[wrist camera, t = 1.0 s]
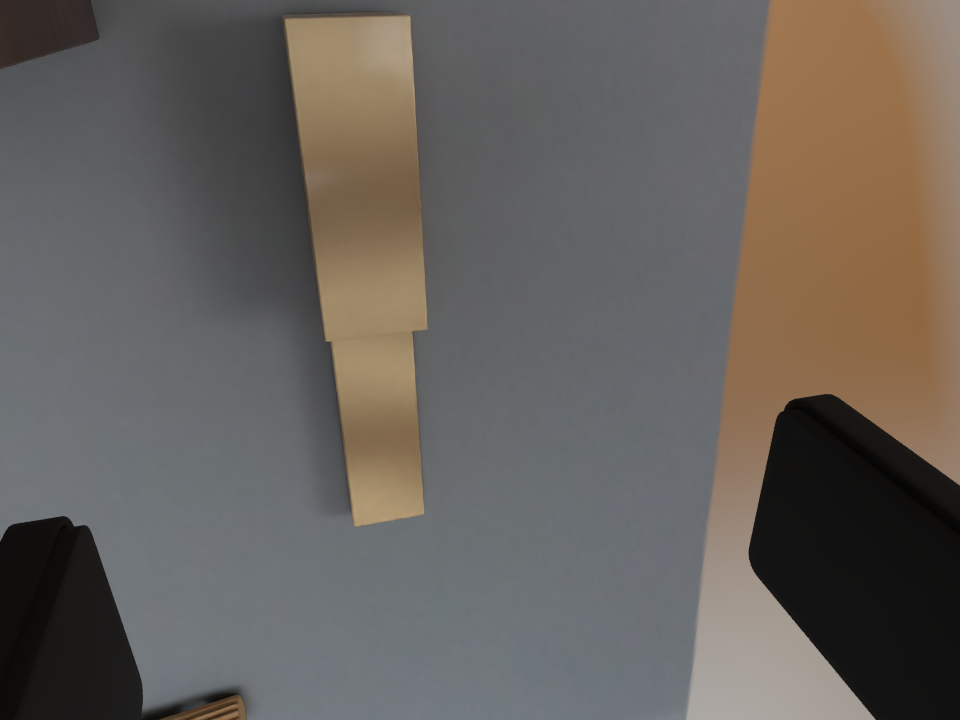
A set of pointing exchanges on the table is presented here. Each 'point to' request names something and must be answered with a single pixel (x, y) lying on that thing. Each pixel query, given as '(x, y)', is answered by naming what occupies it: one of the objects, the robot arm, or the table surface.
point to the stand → (43, 28)
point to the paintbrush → (215, 711)
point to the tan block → (365, 239)
